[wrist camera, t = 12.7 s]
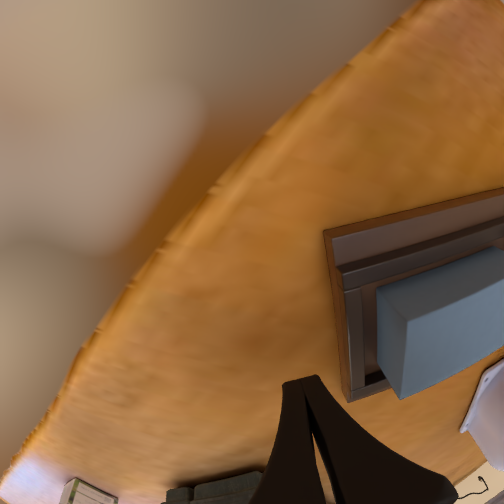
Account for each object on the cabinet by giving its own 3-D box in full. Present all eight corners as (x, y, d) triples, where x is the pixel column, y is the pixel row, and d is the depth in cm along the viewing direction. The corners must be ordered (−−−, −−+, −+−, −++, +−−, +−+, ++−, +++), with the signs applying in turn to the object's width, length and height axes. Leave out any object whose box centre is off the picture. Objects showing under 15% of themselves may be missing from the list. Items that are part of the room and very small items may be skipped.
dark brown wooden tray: (544, 290, 15) (558, 299, 13) (341, 390, 16) (351, 413, 14) (555, 175, 12) (573, 179, 10) (322, 230, 12) (337, 244, 11)
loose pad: (484, 314, 13) (513, 339, 11) (376, 362, 14) (399, 401, 11) (493, 245, 12) (530, 264, 9) (375, 287, 12) (407, 322, 9)
